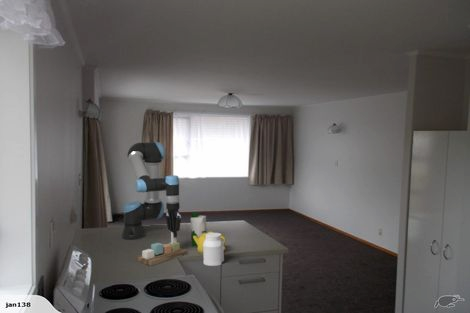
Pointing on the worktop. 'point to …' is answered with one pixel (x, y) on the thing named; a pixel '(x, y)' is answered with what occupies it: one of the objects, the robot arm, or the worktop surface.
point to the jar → (213, 249)
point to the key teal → (157, 248)
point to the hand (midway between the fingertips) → (173, 242)
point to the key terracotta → (167, 248)
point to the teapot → (201, 240)
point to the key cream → (148, 254)
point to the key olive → (175, 246)
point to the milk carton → (197, 226)
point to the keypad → (160, 257)
